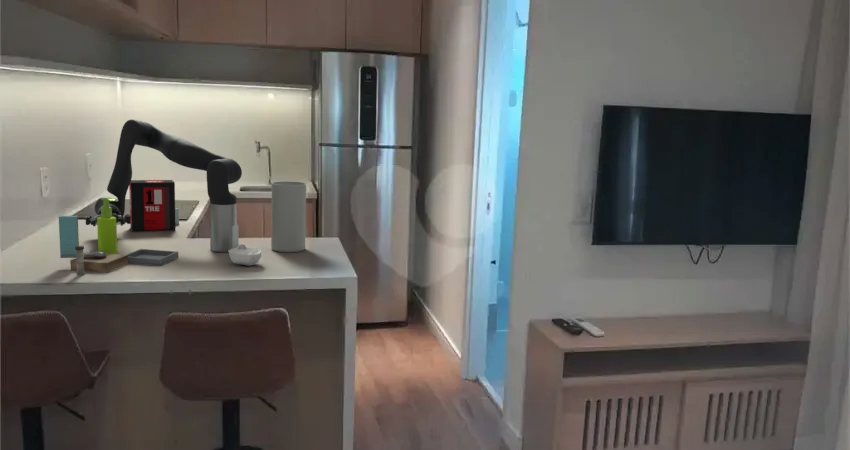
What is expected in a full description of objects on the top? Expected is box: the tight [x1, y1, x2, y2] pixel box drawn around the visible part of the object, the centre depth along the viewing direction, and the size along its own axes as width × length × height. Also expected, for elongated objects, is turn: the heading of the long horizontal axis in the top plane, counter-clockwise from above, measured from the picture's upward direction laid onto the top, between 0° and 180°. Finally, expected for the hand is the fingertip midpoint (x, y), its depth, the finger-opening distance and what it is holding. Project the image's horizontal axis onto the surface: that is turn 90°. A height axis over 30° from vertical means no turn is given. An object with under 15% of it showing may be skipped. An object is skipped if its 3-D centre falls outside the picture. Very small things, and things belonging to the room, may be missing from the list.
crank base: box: [69, 245, 129, 276], centre depth 213 cm, size 12×18×9 cm
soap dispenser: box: [96, 197, 118, 254], centre depth 230 cm, size 6×7×20 cm
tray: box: [125, 248, 179, 267], centre depth 228 cm, size 14×13×2 cm
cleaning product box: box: [128, 179, 176, 233], centre depth 279 cm, size 16×9×20 cm, turn 117°
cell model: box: [228, 243, 262, 267], centre depth 227 cm, size 10×12×7 cm
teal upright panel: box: [58, 215, 107, 259], centre depth 213 cm, size 13×4×13 cm, turn 108°
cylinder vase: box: [270, 180, 307, 253], centre depth 252 cm, size 12×12×25 cm
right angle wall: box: [175, 207, 180, 226], centre depth 297 cm, size 12×12×8 cm
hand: (108, 223), depth 231 cm, fingers open, 8 cm apart
